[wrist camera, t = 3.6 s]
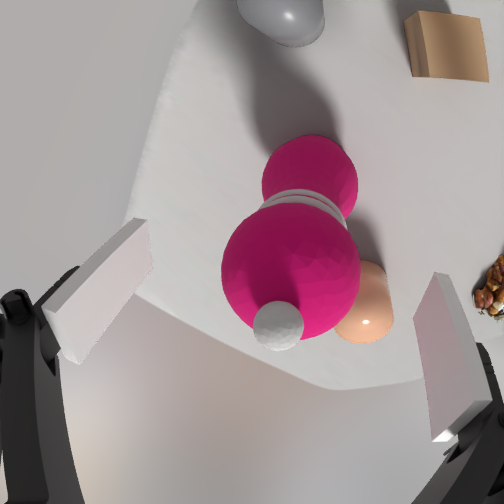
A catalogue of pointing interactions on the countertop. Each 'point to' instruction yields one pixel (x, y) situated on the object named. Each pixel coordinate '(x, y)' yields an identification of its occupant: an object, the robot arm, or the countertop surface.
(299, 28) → the grey cylinder
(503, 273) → the brown lumpy mound
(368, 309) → the peach rounded cylinder
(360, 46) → the countertop surface
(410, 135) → the countertop surface
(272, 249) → the pepper mill
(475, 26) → the tan block
